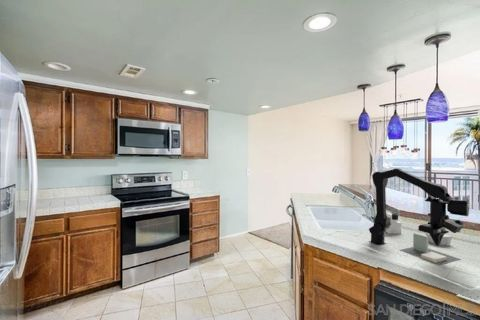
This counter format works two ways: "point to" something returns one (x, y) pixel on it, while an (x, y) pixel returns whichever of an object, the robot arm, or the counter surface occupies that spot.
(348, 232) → the counter surface
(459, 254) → the counter surface
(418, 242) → the sage tile
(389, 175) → the robot arm
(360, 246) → the counter surface
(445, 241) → the ramekin
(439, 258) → the cream angular block
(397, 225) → the medicine bottle
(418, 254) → the slate mat
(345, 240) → the counter surface
